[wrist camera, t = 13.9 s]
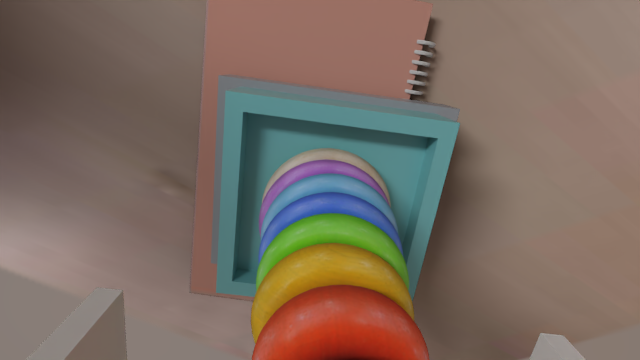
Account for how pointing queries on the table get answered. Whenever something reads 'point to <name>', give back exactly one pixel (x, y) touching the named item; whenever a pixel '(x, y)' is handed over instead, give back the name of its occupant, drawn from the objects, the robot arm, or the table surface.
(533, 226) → the table surface
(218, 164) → the brick base
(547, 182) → the table surface
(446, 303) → the table surface
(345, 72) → the notebook
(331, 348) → the stacking toy
